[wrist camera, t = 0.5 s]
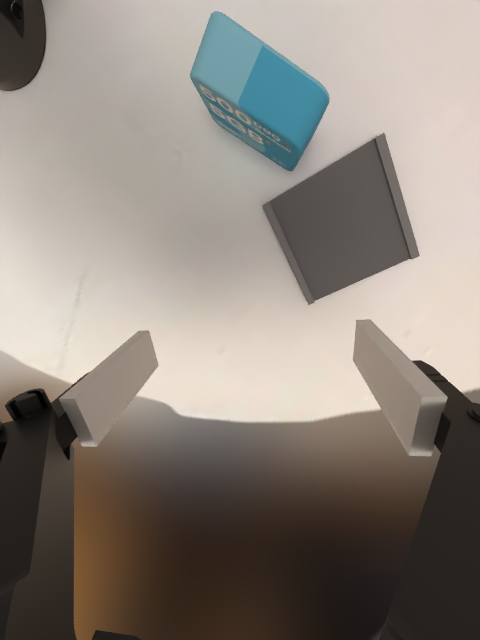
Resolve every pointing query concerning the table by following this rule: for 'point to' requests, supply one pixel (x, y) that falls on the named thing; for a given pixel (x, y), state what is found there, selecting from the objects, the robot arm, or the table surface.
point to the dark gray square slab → (344, 222)
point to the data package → (257, 91)
